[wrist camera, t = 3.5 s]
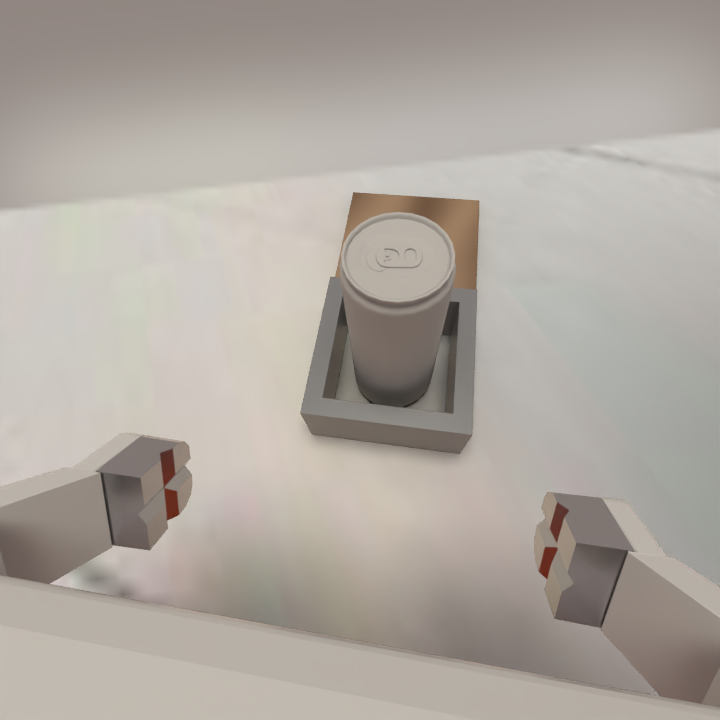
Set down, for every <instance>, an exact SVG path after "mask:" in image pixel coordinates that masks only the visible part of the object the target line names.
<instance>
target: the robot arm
mask: <svg viewBox="0 0 720 720" xmlns="http://www.w3.org/2000/svg"><path fill="white" fill-rule="evenodd" d="M189 460H190V451H189V445H188V444H187V443H186V442H184V441H178V440H172V439H165V438H159V437H153V436H145V435H140V434H132V433H121V434H119V435H118V436H116V437H115V438H114V439H112V440H111V441H109V442H108V443H107V444H105V445H104V446H102V447H101V448H99V449H98V450H97V451H95V452H94V453H92V454H91V455H90V456H88V457H87V458H85V459H84V460H83V461H81V462H80V463H78V464H77V465H75V466H74V467H73V468H66V467H65V468H61V469H58V470H55V471H52V472H48V473H45V474H42V475H38V476H35V477H32V478H28V479H25V480H22V481H19V482H15V483H12V484H9V485H5V486H2V487H0V720H720V587H719V586H718V585H716V584H714V583H713V582H711V581H710V580H708V579H707V578H705V577H704V576H702V575H701V574H699V573H698V572H696V571H694V570H693V569H691V568H690V567H688V566H687V565H685V564H684V563H682V562H681V561H679V560H678V559H676V558H670V557H667V556H666V555H665V553H664V552H663V551H662V549H661V548H660V546H659V545H658V544H657V542H656V541H655V540H654V538H653V537H652V535H651V534H650V533H649V531H648V530H647V528H646V527H645V526H644V524H643V523H642V522H641V520H640V519H639V517H638V516H637V515H636V513H635V512H634V510H633V509H632V508H631V506H630V505H629V504H628V503H627V502H625V501H624V500H619V499H609V498H599V497H597V498H596V497H588V496H579V495H570V494H562V493H553V492H547V494H546V495H545V497H544V500H543V504H542V510H543V513H544V516H545V519H544V520H543V521H542V522H540V523H539V524H538V525H537V528H536V533H535V538H534V554H535V560H536V564H537V567H538V571H539V572H540V573H541V574H542V575H543V576H544V577H545V578H546V579H547V582H546V586H545V592H546V595H547V598H548V601H549V604H550V607H551V610H552V613H553V616H554V619H558V620H564V621H569V622H574V623H579V624H584V625H589V626H594V627H599V628H601V631H602V632H603V633H604V634H605V635H606V636H607V637H608V639H609V640H610V641H611V642H612V643H613V644H614V645H615V646H616V647H617V648H618V650H619V651H620V652H621V653H622V654H623V655H624V656H625V657H626V658H627V659H628V661H629V662H630V663H631V664H632V665H633V666H634V667H635V668H636V669H637V671H638V672H639V673H640V674H641V675H642V676H643V677H644V678H645V679H646V680H647V682H648V683H649V684H650V685H651V686H652V687H653V688H654V689H655V690H656V691H657V693H658V694H659V695H660V696H656V695H651V694H645V693H640V692H635V691H629V690H623V689H618V688H612V687H607V686H601V685H595V684H590V683H584V682H579V681H573V680H568V679H562V678H557V677H551V676H546V675H541V674H535V673H530V672H524V671H519V670H514V669H508V668H503V667H498V666H492V665H487V664H481V663H476V662H471V661H465V660H460V659H454V658H449V657H444V656H438V655H433V654H428V653H422V652H417V651H411V650H406V649H401V648H395V647H390V646H384V645H379V644H374V643H368V642H363V641H357V640H352V639H346V638H341V637H335V636H330V635H324V634H319V633H313V632H308V631H302V630H297V629H291V628H286V627H281V626H275V625H270V624H264V623H259V622H253V621H248V620H242V619H237V618H231V617H226V616H220V615H215V614H209V613H204V612H198V611H193V610H187V609H182V608H177V607H171V606H166V605H160V604H155V603H149V602H144V601H139V600H133V599H128V598H122V597H117V596H111V595H106V594H101V593H95V592H90V591H84V590H79V589H73V588H68V587H63V586H57V585H52V584H50V583H52V582H54V581H55V580H57V579H59V578H60V577H62V576H64V575H65V574H67V573H69V572H71V571H72V570H74V569H76V568H77V567H79V566H81V565H83V564H84V563H86V562H88V561H89V560H91V559H93V558H95V557H96V556H98V555H100V554H101V553H103V552H105V551H107V550H108V549H110V548H112V545H115V546H122V547H130V548H137V549H144V550H151V548H152V547H153V546H154V545H155V544H156V542H157V541H158V540H159V539H160V538H161V536H162V535H163V534H164V533H165V531H166V530H167V529H168V524H167V520H169V519H172V518H174V517H176V516H178V515H179V514H180V513H181V512H182V511H183V509H184V508H185V507H186V505H187V502H188V500H189V498H190V495H191V490H192V474H191V473H190V472H189V470H188V469H187V468H186V466H185V465H186V463H187V462H188V461H189Z"/></svg>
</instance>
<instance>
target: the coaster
mask: <svg viewBox="0 0 720 720" xmlns="http://www.w3.org/2000/svg"><path fill="white" fill-rule="evenodd" d="M394 212H403V213H413V214H416V215H419V216H423V217H426V218H427V219H429V220H431V221H433V222H435V223H436V224H438V225H439V226H440V227H441V228H442V229H443V230H444V231H445V232H446V233H447V235H448V236H449V238H450V240H451V241H452V243H453V247H454V251H455V263H456V272H455V281H454V285H453V288H463V289H474V290H476V278H477V251H478V223H479V201H477V200H461V199H446V198H431V197H415V196H400V195H385V194H369V193H354V192H353V197H352V201H351V206H350V211H349V215H348V220H347V225H346V229H345V234H344V239H343V243H342V248H343V244H344V242H345V240H346V239H347V237H348V236H349V234H350V232H351V231H353V230H354V229H355V228H356V227H357V226H358V225H359V224H360V223H362V222H364V221H366V220H368V219H369V218H371V217H374V216H378V215H381V214H384V213H394ZM342 248H341V252H342ZM340 261H341V253H340V257H339V262H338V267H337V271H336V276H335V277H339V278H340V268H339V265H340Z"/></svg>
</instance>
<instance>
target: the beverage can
mask: <svg viewBox="0 0 720 720" xmlns="http://www.w3.org/2000/svg"><path fill="white" fill-rule="evenodd" d="M339 268H340V281H341V287H342V293H343V300H344V306H345V312H346V319H347V325H348V331H349V338H350V344H351V351H352V357H353V363H354V370H355V376H356V381H357V384H358V387H359V389H360V391H361V392H362V393H363V394H364V396H365V397H366V398H367V399H369V400H370V401H371V402H373V403H374V404H377V405H385V406H393V407H403V406H405V405H408V404H410V403H412V402H414V401H415V400H417V399H419V398H420V397H421V396H422V395H423V394H424V393H425V392H426V390H427V388H428V386H429V384H430V381H431V376H432V372H433V368H434V364H435V360H436V356H437V351H438V347H439V343H440V339H441V335H442V331H443V327H444V322H445V318H446V314H447V310H448V306H449V302H450V298H451V293H452V289H453V285H454V281H455V272H456V263H455V251H454V247H453V243H452V241H451V240H450V238H449V236H448V235H447V233H446V232H445V231H444V230H443V229H442V228H441V227H440V226H439V225H438V224H436V223H435V222H433V221H431V220H429V219H427V218H426V217H423V216H419V215H416V214H413V213H403V212H394V213H384V214H381V215H378V216H374V217H371V218H369V219H368V220H366V221H364V222H362V223H360V224H359V225H358V226H357V227H356V228H355V229H354V230H353V231H351V232H350V234H349V236H348V237H347V239H346V240H345V242H344V244H343V248H342V252H341V261H340V265H339Z"/></svg>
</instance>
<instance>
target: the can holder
mask: <svg viewBox="0 0 720 720" xmlns="http://www.w3.org/2000/svg"><path fill="white" fill-rule="evenodd" d="M476 311H477V290H474V289H463V288H453V289H452V293H451V298H450V302H449V306H448V310H447V314H446V318H445V322H444V327H443V331H442V335H450V347H449V363H448V378H447V394H446V409H445V413H442V412H434V411H426V410H418V409H410V408H401V407H393V406H385V405H377V404H369V403H361V402H352V401H344V400H336V399H335V395H336V390H337V385H338V379H339V374H340V369H341V363H342V358H343V352H344V347H345V342H346V336H347V331H348V325H347V319H346V312H345V306H344V300H343V293H342V287H341V281H340V278H339V277H330V281H329V285H328V290H327V294H326V299H325V303H324V308H323V312H322V317H321V322H320V326H319V331H318V335H317V340H316V344H315V349H314V353H313V358H312V362H311V367H310V371H309V376H308V381H307V385H306V390H305V394H304V399H303V403H302V408H301V412H300V413H301V415H302V417H303V419H304V421H305V422H306V424H307V426H308V428H309V430H310V431H311V433H312V434H314V435H322V436H330V437H337V438H345V439H352V440H360V441H367V442H375V443H382V444H390V445H398V446H405V447H413V448H420V449H428V450H435V451H443V452H450V453H458V454H460V453H461V451H462V450H463V448H464V447H465V445H466V443H467V442H468V440H469V439H470V437H471V436H472V425H473V396H474V368H475V339H476Z"/></svg>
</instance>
